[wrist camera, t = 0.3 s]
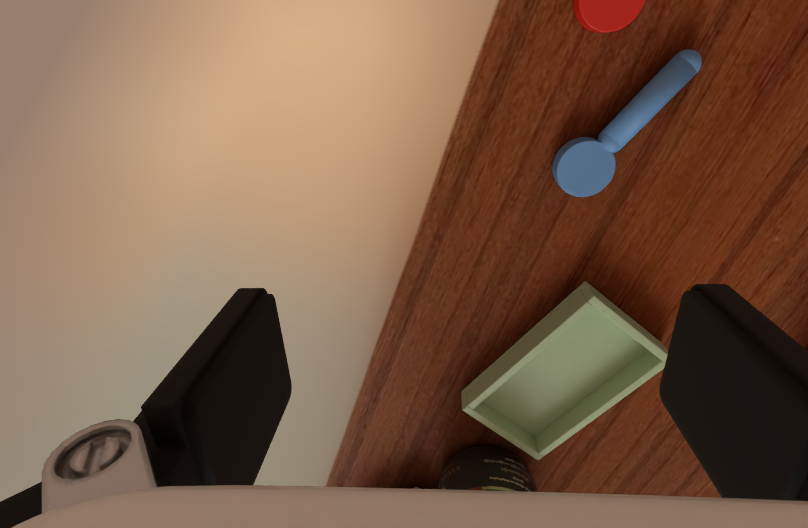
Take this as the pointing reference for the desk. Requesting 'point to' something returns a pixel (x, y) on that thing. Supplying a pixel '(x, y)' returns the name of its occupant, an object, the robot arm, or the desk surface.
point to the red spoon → (606, 13)
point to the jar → (486, 471)
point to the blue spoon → (620, 130)
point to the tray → (564, 373)
